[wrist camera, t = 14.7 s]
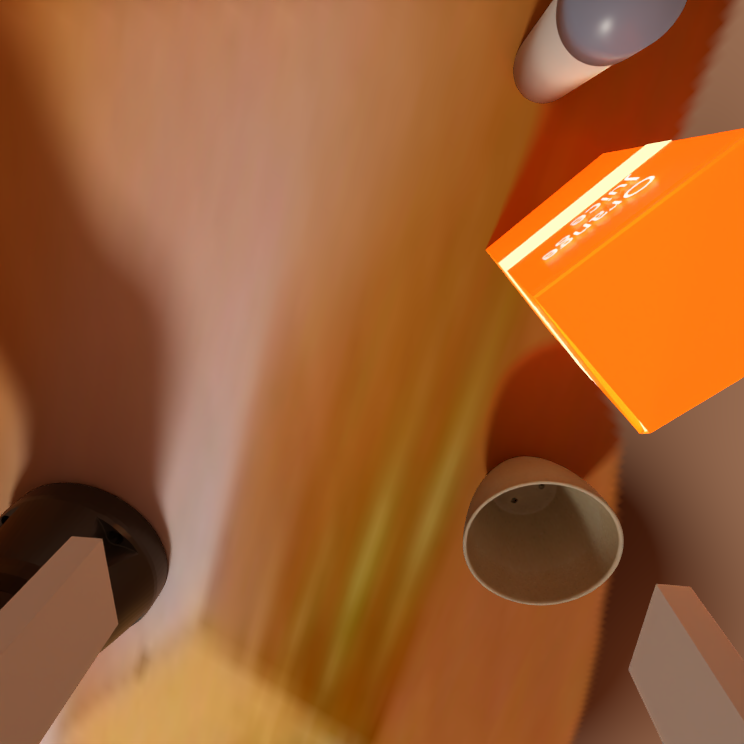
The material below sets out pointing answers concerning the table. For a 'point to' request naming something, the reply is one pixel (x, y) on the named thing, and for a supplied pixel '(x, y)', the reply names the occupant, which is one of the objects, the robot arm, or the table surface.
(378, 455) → the table surface
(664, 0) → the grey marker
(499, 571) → the flower pot
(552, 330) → the orange juice
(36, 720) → the robot arm
